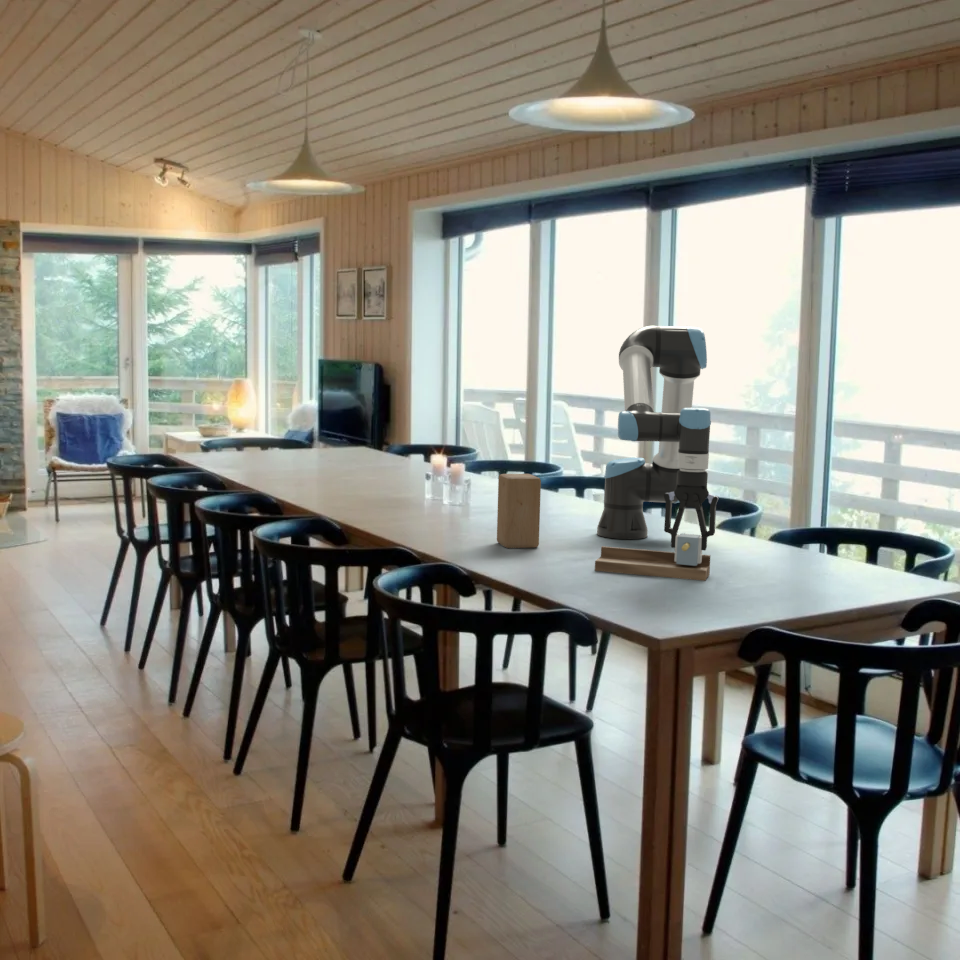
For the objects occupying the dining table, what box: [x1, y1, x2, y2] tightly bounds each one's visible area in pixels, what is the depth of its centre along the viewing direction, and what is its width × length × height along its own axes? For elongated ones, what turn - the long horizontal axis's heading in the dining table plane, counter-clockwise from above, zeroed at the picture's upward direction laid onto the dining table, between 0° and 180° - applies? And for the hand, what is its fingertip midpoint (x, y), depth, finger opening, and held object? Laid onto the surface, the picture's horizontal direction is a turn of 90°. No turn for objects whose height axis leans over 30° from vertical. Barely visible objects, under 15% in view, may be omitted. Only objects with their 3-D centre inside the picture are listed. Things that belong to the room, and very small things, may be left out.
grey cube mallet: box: [676, 533, 701, 566], centre depth 285 cm, size 10×5×7 cm, turn 162°
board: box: [594, 545, 711, 582], centre depth 291 cm, size 8×28×5 cm, turn 72°
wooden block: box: [496, 473, 542, 549], centre depth 323 cm, size 10×10×20 cm
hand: (688, 561), depth 288 cm, fingers closed on grey cube mallet, 5 cm apart
